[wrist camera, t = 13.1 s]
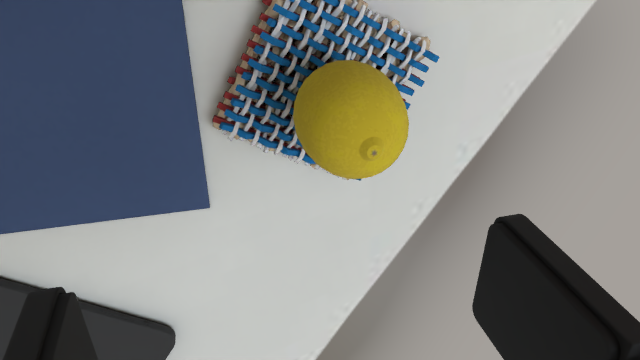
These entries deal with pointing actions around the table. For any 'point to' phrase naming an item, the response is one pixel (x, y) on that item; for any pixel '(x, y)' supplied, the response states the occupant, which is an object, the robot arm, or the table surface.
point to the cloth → (96, 113)
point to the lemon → (350, 119)
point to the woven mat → (308, 66)
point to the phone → (95, 328)
